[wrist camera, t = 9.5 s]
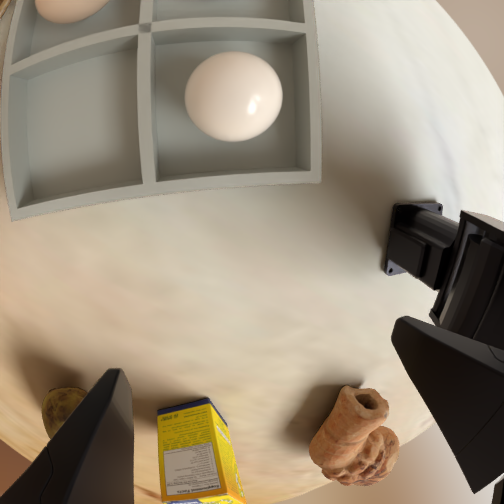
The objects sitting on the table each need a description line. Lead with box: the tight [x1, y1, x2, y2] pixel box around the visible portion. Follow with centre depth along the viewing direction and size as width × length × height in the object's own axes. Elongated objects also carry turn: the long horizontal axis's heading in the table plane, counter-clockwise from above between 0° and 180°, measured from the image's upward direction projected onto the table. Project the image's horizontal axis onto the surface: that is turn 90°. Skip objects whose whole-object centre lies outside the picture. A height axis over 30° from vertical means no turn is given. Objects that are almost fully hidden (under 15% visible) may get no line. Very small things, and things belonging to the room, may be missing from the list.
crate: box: [0, 0, 322, 221], centre depth 12 cm, size 19×19×3 cm
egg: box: [184, 51, 283, 142], centre depth 13 cm, size 5×5×5 cm
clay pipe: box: [309, 385, 399, 486], centre depth 30 cm, size 19×11×15 cm
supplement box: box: [157, 398, 247, 504], centre depth 21 cm, size 6×6×11 cm
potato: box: [42, 387, 88, 439], centre depth 18 cm, size 8×13×8 cm, turn 128°
